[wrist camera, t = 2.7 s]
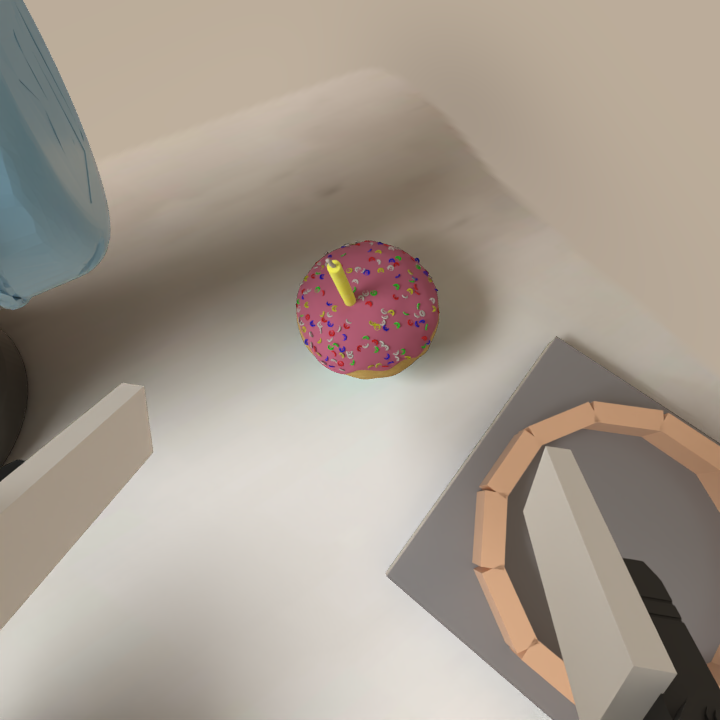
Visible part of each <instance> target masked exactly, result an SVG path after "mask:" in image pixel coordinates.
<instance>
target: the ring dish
mask: <svg viewBox="0 0 720 720" xmlns="http://www.w3.org/2000/svg"><path fill="white" fill-rule="evenodd" d="M545 446H549V447H556V448H562V449H569V450H571V452H572V454H573V456H574V458H575V460H576V462H577V464H578V466H579V469H580V471H581V473H582V475H583V477H584V479H585V481H586V483H587V485H588V487H589V490H590V492H591V494H592V496H593V498H594V500H595V502H596V504H597V506H598V508H599V511H600V513H601V515H602V517H603V519H604V521H605V523H606V525H607V527H608V529H609V532H610V534H611V536H612V538H613V540H614V542H615V544H616V546H617V548H618V550H619V553H620V555H621V557H622V558H627V559H633V560H639V561H644V563H645V564H646V565H647V566H648V567H649V568H650V569H651V570H652V571H653V572H654V573H655V574H656V575H657V576H658V577H659V578H660V580H661V581H662V583H663V584H664V586H665V588H666V590H667V592H668V594H669V596H670V597H671V599H672V604H673V605H675V607H676V608H677V610H678V612H679V614H680V616H681V618H682V619H681V620H682V622H683V623H685V625H686V627H687V629H688V631H689V633H690V634H691V636H692V638H693V640H694V642H695V644H696V645H697V647H698V649H699V651H700V653H701V655H702V657H703V658H704V660H705V662H706V664H707V666H708V668H709V670H710V671H711V673H712V675H713V677H714V679H715V681H716V682H717V684H718V686H719V688H720V443H718V442H717V441H715V440H714V439H712V438H711V437H709V436H708V435H706V434H705V433H703V432H702V431H700V430H698V429H697V428H695V427H694V426H692V425H691V424H689V423H688V422H686V421H685V420H683V419H682V418H680V417H679V416H677V415H676V414H674V413H673V412H671V411H670V410H668V409H666V408H665V407H663V406H662V405H660V404H659V403H657V402H656V401H654V400H653V399H651V398H650V397H648V396H647V395H645V394H644V393H642V392H641V391H639V390H638V389H636V388H634V387H633V386H631V385H630V384H628V383H627V382H625V381H624V380H622V379H621V378H619V377H618V376H616V375H615V374H613V373H612V372H610V371H609V370H607V369H606V368H604V367H603V366H601V365H599V364H598V363H596V362H595V361H593V360H592V359H590V358H589V357H587V356H586V355H584V354H583V353H581V352H580V351H578V350H577V349H575V348H574V347H572V346H571V345H569V344H567V343H566V342H564V341H563V340H561V339H560V338H558V337H557V336H556V337H555V338H554V339H553V340H552V341H551V342H550V343H549V344H548V345H547V347H546V348H545V349H544V351H543V352H542V354H541V355H540V356H539V358H538V359H537V361H536V362H535V363H534V365H533V366H532V368H531V369H530V370H529V372H528V373H527V375H526V376H525V377H524V379H523V380H522V382H521V383H520V384H519V386H518V387H517V389H516V390H515V392H514V393H513V394H512V396H511V397H510V399H509V400H508V401H507V403H506V404H505V406H504V407H503V408H502V410H501V411H500V413H499V414H498V415H497V417H496V418H495V420H494V421H493V422H492V424H491V425H490V427H489V428H488V429H487V431H486V432H485V434H484V435H483V437H482V438H481V439H480V441H479V442H478V444H477V445H476V446H475V448H474V449H473V451H472V452H471V453H470V455H469V456H468V458H467V459H466V460H465V462H464V463H463V465H462V466H461V467H460V469H459V470H458V472H457V473H456V474H455V476H454V477H453V479H452V480H451V482H450V483H449V484H448V486H447V487H446V489H445V490H444V491H443V493H442V494H441V496H440V497H439V498H438V500H437V501H436V503H435V504H434V505H433V507H432V508H431V510H430V511H429V512H428V514H427V515H426V517H425V518H424V520H423V521H422V522H421V524H420V525H419V527H418V528H417V529H416V531H415V532H414V534H413V535H412V536H411V538H410V539H409V541H408V542H407V543H406V545H405V546H404V548H403V549H402V550H401V552H400V553H399V555H398V556H397V557H396V559H395V560H394V562H393V563H392V565H391V566H390V567H389V569H388V570H387V572H386V576H387V577H388V578H389V579H390V580H392V581H393V582H394V583H395V584H396V585H397V586H398V587H400V588H401V589H402V590H403V591H404V592H405V593H407V594H408V595H409V596H410V597H411V598H412V599H414V600H415V601H416V602H417V603H418V604H419V605H420V606H422V607H423V608H424V609H425V610H426V611H427V612H429V613H430V614H431V615H432V616H433V617H434V618H436V619H437V620H438V621H439V622H440V623H441V624H442V625H444V626H445V627H446V628H447V629H448V630H449V631H451V632H452V633H453V634H454V635H455V636H456V637H458V638H459V639H460V640H461V641H462V642H463V643H464V644H466V645H467V646H468V647H469V648H470V649H471V650H473V651H474V652H475V653H476V654H477V655H478V656H479V657H481V658H482V659H483V660H484V661H485V662H486V663H488V664H489V665H490V666H491V667H492V668H493V669H495V670H496V671H497V672H498V673H499V674H500V675H501V676H503V677H504V678H505V679H506V680H507V681H508V682H510V683H511V684H512V685H513V686H514V687H515V688H517V689H518V690H519V691H520V692H521V693H522V694H523V695H525V696H526V697H527V698H528V699H529V700H530V701H532V702H533V703H534V704H535V705H536V706H537V707H539V708H540V709H541V710H542V711H543V712H544V713H545V714H547V715H548V716H549V717H550V718H551V719H552V720H579V717H578V713H577V709H576V705H575V702H574V698H573V694H572V691H571V687H570V683H569V680H568V676H567V672H566V668H565V665H564V661H563V657H562V654H561V650H560V646H559V642H558V639H557V635H556V631H555V628H554V624H553V620H552V617H551V613H550V609H549V605H548V602H547V598H546V594H545V591H544V587H543V583H542V580H541V576H540V572H539V568H538V565H537V561H536V557H535V554H534V550H533V546H532V543H531V539H530V535H529V531H528V528H527V524H526V520H525V517H524V513H523V510H524V507H525V504H526V501H527V499H528V496H529V493H530V490H531V487H532V484H533V481H534V478H535V475H536V472H537V469H538V467H539V464H540V461H541V458H542V455H543V452H544V449H545Z"/></svg>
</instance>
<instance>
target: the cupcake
mask: <svg viewBox="0 0 720 720" xmlns="http://www.w3.org/2000/svg"><path fill="white" fill-rule="evenodd" d="M355 242H356V243H355V244H350V245H349V244H345V245H344V246H342V247H341V248H339V249H337V250H334V251H332V252H330V253H329V254H328V252H327V251H326V252H325V256H324V257H323V258H321V259H320V260H319V261H318V262H316V263H315V265H314V266H313V267H312V269H311V270H310V271H309V273H308V274H307V276H306V277H305V278H304V280H303V282H302V283H301V284H300V285H301V286H300V288H299V291H298V295H297V303H296V308H297V309H296V314H297V323H298V327H299V331H300V334H301V337H302V339H303V342H304V344H305V345H306V347H307V348H308V349H309V351H310V352H311V353H312V354H313V355H314V356H315V357H316V358H317V360H318V361H319V362H320V363H321V364H322V365H324V366H325V367H326V368H328V369H330V370H332V371H334V372H337V373H340V374H346V375H349V376H352V377H356V378H359V379H373V378H382V377H389V376H393V375H396V374H398V373H400V372H401V371H403V370H404V369H406V368H407V367H408V366H410V365H411V364H412V363H413V362H414V361H415V360H417V359H418V358H419V357H421V356H422V355H423V354H425V353H426V351H427V350H428V348H429V346H430V344H431V341H432V339H433V337H434V335H435V333H436V330H437V326H438V322H439V306H438V297H437V291H438V290H437V289H436V288H435V285H434V283H433V281H432V279H431V278H432V277H430V276H429V275H428V274H429V273H428V272H427V271H426V270H425V269H424V268H423V267H422V266H421V265H420V264H419V259H418V258H415V259H414V258H413V257H412V256H410V255H409V254H408V253H406V252H404V251H403V250H401V249H400V248H398V247H397V248H396V247H394V246H391V245H387V244H383V243H381V242H376V241H364V242H357V241H355ZM326 253H327V254H326ZM417 260H418V262H417Z"/></svg>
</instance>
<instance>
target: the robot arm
mask: <svg viewBox="0 0 720 720" xmlns="http://www.w3.org/2000/svg"><path fill="white" fill-rule="evenodd" d="M109 240H110V217H109V210H108V205H107V200H106V196H105V192H104V188H103V184H102V181H101V178H100V174H99V171H98V168H97V165H96V162H95V159H94V156H93V154H92V151H91V148H90V145H89V143H88V140H87V137H86V135H85V132H84V130H83V127H82V125H81V122H80V120H79V117H78V114H77V112H76V110H75V107H74V105H73V103H72V101H71V98H70V96H69V93H68V91H67V89H66V87H65V85H64V82H63V80H62V78H61V76H60V73H59V71H58V69H57V67H56V65H55V63H54V61H53V59H52V57H51V55H50V52H49V50H48V48H47V46H46V44H45V42H44V40H43V38H42V36H41V34H40V32H39V30H38V28H37V26H36V24H35V22H34V20H33V19H32V17H31V15H30V13H29V11H28V9H27V7H26V5H25V3H24V2H23V0H0V309H3V308H6V309H11V310H14V309H18V308H21V307H23V306H25V305H26V304H28V302H29V300H30V299H31V297H33V296H36V295H38V294H40V293H43V292H45V291H47V290H50V289H52V288H55V287H57V286H59V285H62V284H64V283H66V282H69V281H71V280H74V279H76V278H78V277H81V276H83V275H85V274H87V273H88V272H90V271H91V270H92V269H94V268H95V267H96V266H97V265H98V264H99V263H100V262H101V260H102V259H103V257H104V255H105V253H106V251H107V248H108V244H109ZM27 392H28V390H27V377H26V371H25V367H24V364H23V361H22V358H21V356H20V353H19V352H18V350H17V348H16V346H15V345H14V343H13V342H12V341H11V339H10V338H9V337H8V336H7V335H6V334H5V333H4V332H3V331H2V330H1V329H0V467H1V466H2V464H3V463H4V461H5V460H6V458H7V457H8V455H9V453H10V451H11V450H12V448H13V446H14V444H15V442H16V439H17V437H18V434H19V432H20V429H21V426H22V423H23V419H24V416H25V411H26V404H27ZM152 453H153V447H152V440H151V433H150V425H149V418H148V411H147V403H146V396H145V389H144V386H141V385H134V384H128V383H121V384H120V385H119V386H118V387H116V388H115V389H114V390H113V391H111V392H110V393H109V394H108V395H106V396H105V397H104V398H103V399H102V400H100V401H99V402H98V403H97V404H95V405H94V406H93V407H92V408H90V409H89V410H88V411H87V412H86V413H84V414H83V415H82V416H81V417H79V418H78V419H77V420H76V421H74V422H73V423H72V424H71V425H70V426H68V427H67V428H66V429H65V430H63V431H62V432H61V433H60V434H58V435H57V436H56V437H55V438H54V439H52V440H51V441H50V442H49V443H47V444H46V445H45V446H44V447H42V448H41V449H40V450H39V451H38V452H36V453H35V454H34V455H33V456H31V457H30V458H29V459H28V460H26V461H23V460H16V461H14V462H11V463H9V464H7V465H5V466H3V467H1V468H0V630H1V629H2V628H3V627H4V625H5V624H6V623H7V622H8V621H9V620H10V618H11V617H12V616H13V615H14V614H15V613H16V611H17V610H18V609H19V608H20V607H21V606H22V604H23V603H24V602H25V601H26V600H27V599H28V598H29V596H30V595H31V594H32V593H33V592H34V591H35V589H36V588H37V587H38V586H39V585H40V584H41V582H42V581H43V580H44V579H45V578H46V577H47V575H48V574H49V573H50V572H51V571H52V570H53V568H54V567H55V566H56V565H57V564H58V563H59V561H60V560H61V559H62V558H63V557H64V556H65V554H66V553H67V552H68V551H69V550H70V549H71V547H72V546H73V545H74V544H75V543H76V542H77V540H78V539H79V538H80V537H81V536H82V535H83V533H84V532H85V531H86V530H87V529H88V528H89V526H90V525H91V524H92V523H93V522H94V521H95V519H96V518H97V517H98V516H99V515H100V514H101V513H102V511H103V510H104V509H105V508H106V507H107V506H108V504H109V503H110V502H111V501H112V500H113V499H114V497H115V496H116V495H117V494H118V493H119V492H120V490H121V489H122V488H123V487H124V486H125V485H126V483H127V482H128V481H129V480H130V479H131V478H132V476H133V475H134V474H135V473H136V472H137V471H138V469H139V468H140V467H141V466H142V465H143V464H144V462H145V461H146V460H147V459H148V458H149V457H150V455H151V454H152ZM523 513H524V517H525V520H526V524H527V528H528V531H529V535H530V539H531V543H532V546H533V550H534V554H535V557H536V561H537V565H538V568H539V572H540V576H541V580H542V583H543V587H544V591H545V594H546V598H547V602H548V605H549V609H550V613H551V617H552V620H553V624H554V628H555V631H556V635H557V639H558V642H559V646H560V650H561V654H562V657H563V661H564V665H565V668H566V672H567V676H568V680H569V683H570V687H571V691H572V694H573V698H574V702H575V705H576V709H577V713H578V717H579V720H720V688H719V686H718V684H717V682H716V681H715V679H714V677H713V675H712V673H711V671H710V670H709V668H708V666H707V664H706V662H705V660H704V658H703V657H702V655H701V653H700V651H699V649H698V647H697V645H696V644H695V642H694V640H693V638H692V636H691V634H690V633H689V631H688V629H687V627H686V625H685V623H683V622H682V620H681V619H682V618H681V616H680V614H679V612H678V610H677V608H676V607H675V605H673V604H672V599H671V597H670V596H669V594H668V592H667V590H666V588H665V586H664V584H663V583H662V581H661V580H660V578H659V577H658V576H657V575H656V574H655V573H654V572H653V571H652V570H651V569H650V568H649V567H648V566H647V565H646V564H645V563H644V561H639V560H633V559H627V558H622V557H621V555H620V553H619V550H618V548H617V546H616V544H615V542H614V540H613V538H612V536H611V534H610V532H609V529H608V527H607V525H606V523H605V521H604V519H603V517H602V515H601V513H600V511H599V508H598V506H597V504H596V502H595V500H594V498H593V496H592V494H591V492H590V490H589V487H588V485H587V483H586V481H585V479H584V477H583V475H582V473H581V471H580V469H579V466H578V464H577V462H576V460H575V458H574V456H573V454H572V452H571V450H569V449H562V448H556V447H549V446H545V449H544V452H543V455H542V458H541V461H540V464H539V467H538V469H537V472H536V475H535V478H534V481H533V484H532V487H531V490H530V493H529V496H528V499H527V501H526V504H525V507H524V510H523Z"/></svg>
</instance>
